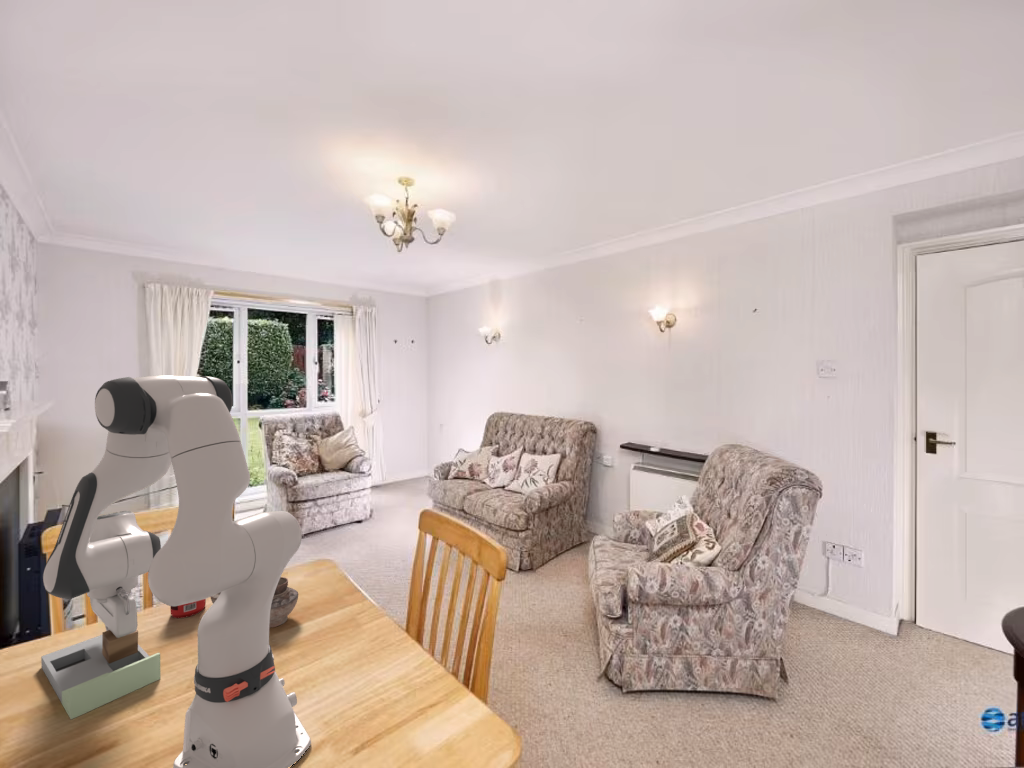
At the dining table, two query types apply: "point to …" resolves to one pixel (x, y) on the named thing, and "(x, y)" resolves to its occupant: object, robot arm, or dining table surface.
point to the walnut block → (118, 645)
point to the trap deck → (96, 675)
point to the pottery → (278, 602)
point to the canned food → (188, 609)
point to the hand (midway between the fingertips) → (114, 640)
